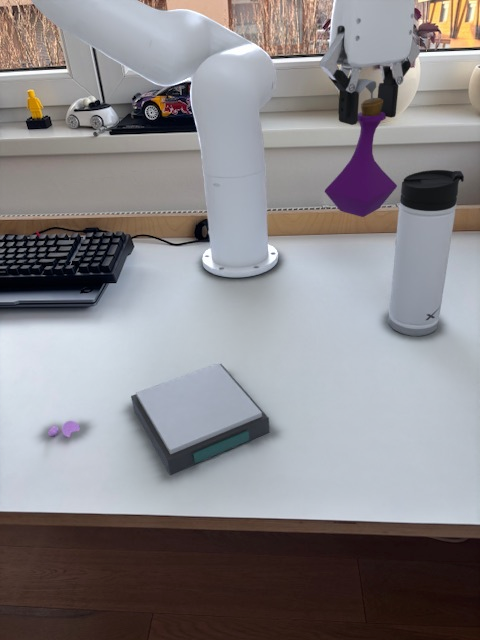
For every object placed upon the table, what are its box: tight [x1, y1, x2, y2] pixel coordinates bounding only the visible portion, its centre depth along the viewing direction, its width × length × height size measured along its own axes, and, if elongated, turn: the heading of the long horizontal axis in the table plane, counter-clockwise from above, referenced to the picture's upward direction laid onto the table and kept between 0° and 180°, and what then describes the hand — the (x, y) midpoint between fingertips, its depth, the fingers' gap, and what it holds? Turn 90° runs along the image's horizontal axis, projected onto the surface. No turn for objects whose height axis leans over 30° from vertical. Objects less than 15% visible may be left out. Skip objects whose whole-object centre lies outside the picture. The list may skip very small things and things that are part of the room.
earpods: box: [47, 420, 81, 438], centre depth 58 cm, size 3×2×2 cm
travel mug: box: [387, 169, 465, 337], centre depth 66 cm, size 6×7×20 cm
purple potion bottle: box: [324, 78, 398, 218], centre depth 75 cm, size 8×8×18 cm
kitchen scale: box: [130, 362, 270, 475], centre depth 57 cm, size 11×11×3 cm
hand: (367, 117), depth 73 cm, fingers closed on purple potion bottle, 5 cm apart
